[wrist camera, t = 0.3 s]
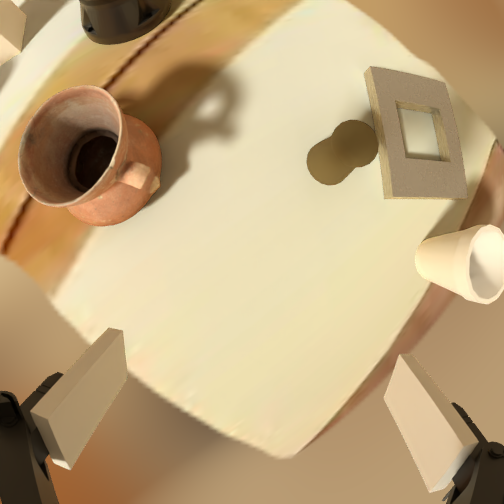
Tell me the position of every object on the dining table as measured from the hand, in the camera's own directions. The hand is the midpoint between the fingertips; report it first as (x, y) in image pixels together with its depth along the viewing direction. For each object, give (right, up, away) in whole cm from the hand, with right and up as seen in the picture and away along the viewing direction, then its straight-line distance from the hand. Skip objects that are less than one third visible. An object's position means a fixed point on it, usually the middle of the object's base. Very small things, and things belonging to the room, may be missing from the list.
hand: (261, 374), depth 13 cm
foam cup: (+27, +4, +28) cm, 39 cm away
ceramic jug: (-19, +16, +24) cm, 35 cm away
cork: (+10, +17, +26) cm, 33 cm away
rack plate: (+25, +23, +27) cm, 43 cm away
